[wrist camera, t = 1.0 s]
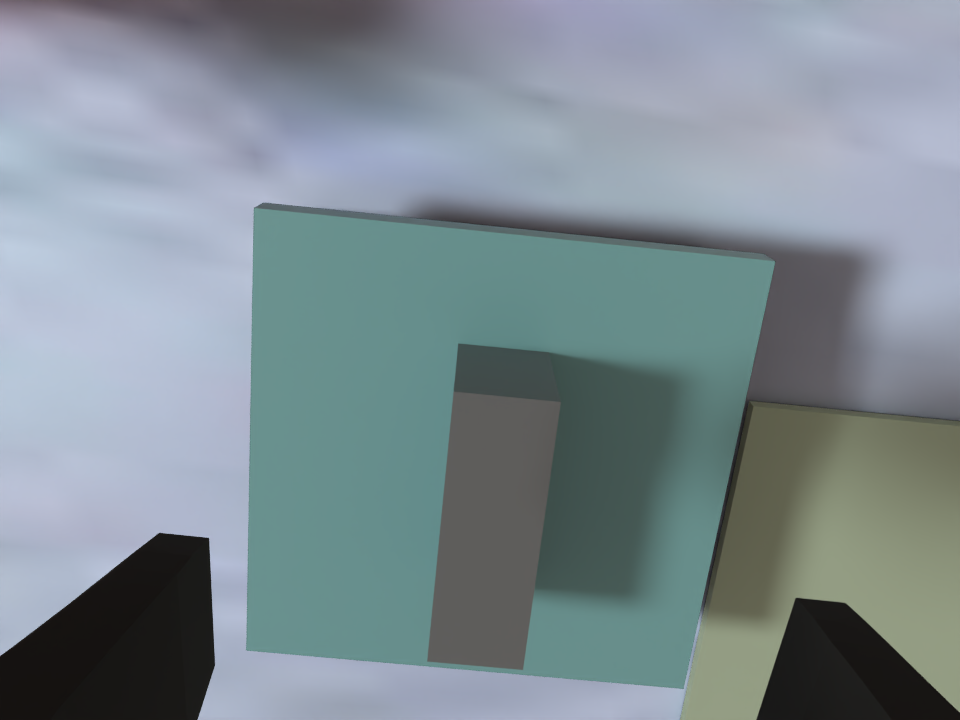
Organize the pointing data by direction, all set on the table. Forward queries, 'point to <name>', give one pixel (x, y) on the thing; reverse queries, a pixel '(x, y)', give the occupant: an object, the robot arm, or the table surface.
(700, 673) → the felt mat
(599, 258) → the lid
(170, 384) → the table surface
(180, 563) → the robot arm
